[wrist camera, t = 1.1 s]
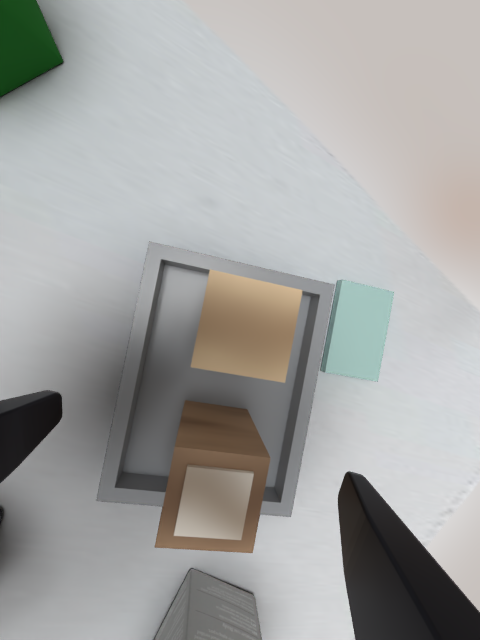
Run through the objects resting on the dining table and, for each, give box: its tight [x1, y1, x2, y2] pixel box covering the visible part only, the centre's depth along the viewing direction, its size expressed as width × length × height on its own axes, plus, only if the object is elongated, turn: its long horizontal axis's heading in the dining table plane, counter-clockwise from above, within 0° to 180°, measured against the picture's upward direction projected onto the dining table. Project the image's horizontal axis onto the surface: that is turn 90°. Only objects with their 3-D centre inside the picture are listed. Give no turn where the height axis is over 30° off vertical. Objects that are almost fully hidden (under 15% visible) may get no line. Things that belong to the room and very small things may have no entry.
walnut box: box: [155, 400, 271, 553], centre depth 16 cm, size 5×5×7 cm
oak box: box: [191, 269, 303, 383], centre depth 16 cm, size 5×5×7 cm
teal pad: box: [321, 280, 394, 382], centre depth 22 cm, size 8×5×1 cm, turn 169°
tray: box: [96, 241, 335, 517], centre depth 19 cm, size 18×14×2 cm
